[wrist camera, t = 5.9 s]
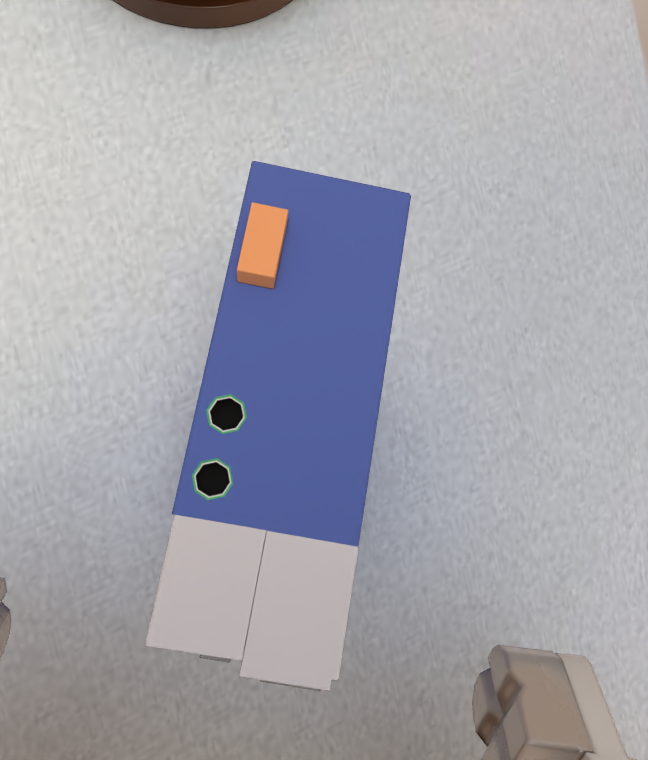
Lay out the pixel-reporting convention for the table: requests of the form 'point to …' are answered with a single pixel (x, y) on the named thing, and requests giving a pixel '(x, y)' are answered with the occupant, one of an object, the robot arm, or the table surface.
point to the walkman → (284, 431)
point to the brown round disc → (203, 11)
